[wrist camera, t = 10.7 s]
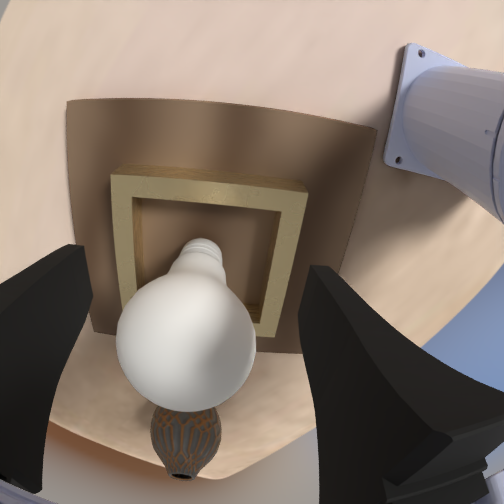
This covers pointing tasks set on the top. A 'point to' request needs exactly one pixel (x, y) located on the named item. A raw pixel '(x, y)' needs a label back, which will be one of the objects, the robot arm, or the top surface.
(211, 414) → the vase
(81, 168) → the lamp base
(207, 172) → the socket collar
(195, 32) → the top surface
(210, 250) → the white light bulb
